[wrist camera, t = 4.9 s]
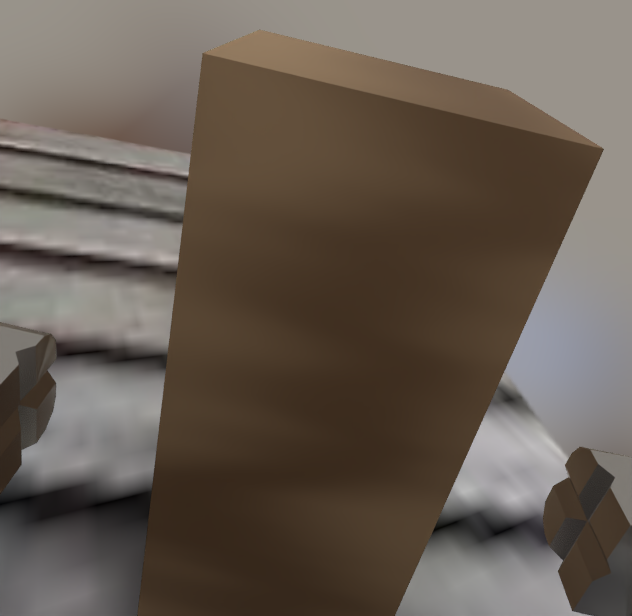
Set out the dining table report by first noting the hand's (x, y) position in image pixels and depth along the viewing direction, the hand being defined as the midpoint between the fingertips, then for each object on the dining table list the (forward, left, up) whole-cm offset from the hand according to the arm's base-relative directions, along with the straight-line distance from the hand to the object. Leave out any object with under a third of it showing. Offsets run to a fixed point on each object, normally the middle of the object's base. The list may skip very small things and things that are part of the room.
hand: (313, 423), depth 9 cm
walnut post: (0, +2, -7) cm, 7 cm away
